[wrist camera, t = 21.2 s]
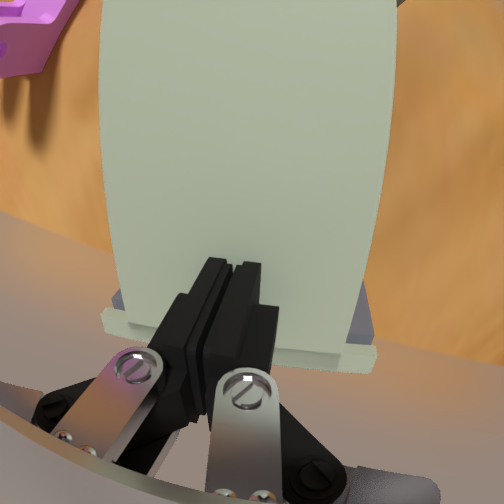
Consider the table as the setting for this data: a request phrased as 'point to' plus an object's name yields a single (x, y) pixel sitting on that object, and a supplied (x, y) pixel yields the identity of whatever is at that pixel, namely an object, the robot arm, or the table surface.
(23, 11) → the bracket
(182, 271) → the lid
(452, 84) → the table surface
